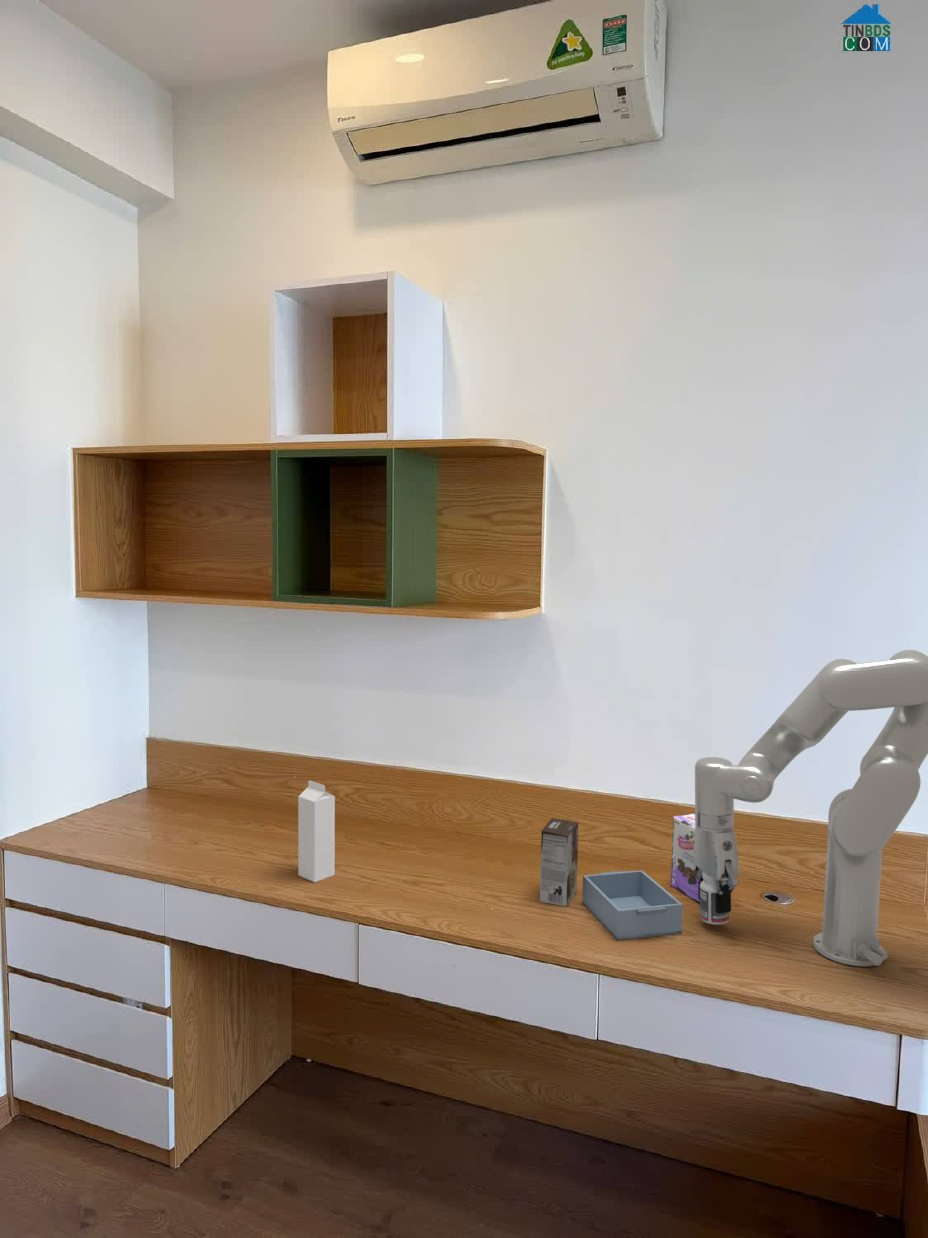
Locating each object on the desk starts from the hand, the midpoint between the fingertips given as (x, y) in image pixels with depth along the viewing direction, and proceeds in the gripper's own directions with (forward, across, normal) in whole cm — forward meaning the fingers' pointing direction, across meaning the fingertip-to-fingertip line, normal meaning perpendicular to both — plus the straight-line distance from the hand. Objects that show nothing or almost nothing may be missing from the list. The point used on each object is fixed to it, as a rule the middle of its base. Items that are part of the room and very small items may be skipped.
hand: (714, 905), depth 172 cm
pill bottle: (+3, 0, 0) cm, 3 cm away
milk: (+1, +44, +77) cm, 89 cm away
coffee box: (+3, +21, +26) cm, 34 cm away
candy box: (+5, +15, -5) cm, 16 cm away
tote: (+4, +8, +15) cm, 17 cm away
